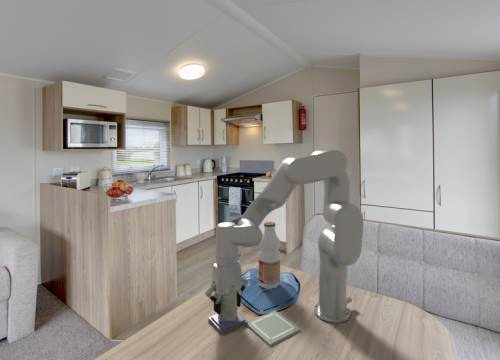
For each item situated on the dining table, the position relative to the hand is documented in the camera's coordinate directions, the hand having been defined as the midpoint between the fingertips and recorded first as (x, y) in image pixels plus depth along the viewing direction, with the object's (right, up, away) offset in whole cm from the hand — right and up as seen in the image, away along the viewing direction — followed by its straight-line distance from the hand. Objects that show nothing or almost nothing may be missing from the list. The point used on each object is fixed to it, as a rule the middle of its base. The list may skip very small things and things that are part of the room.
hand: (227, 308), depth 97 cm
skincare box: (0, -4, 0) cm, 4 cm away
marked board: (+15, -5, -2) cm, 16 cm away
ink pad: (0, -5, +1) cm, 5 cm away
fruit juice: (+16, -2, +28) cm, 32 cm away
